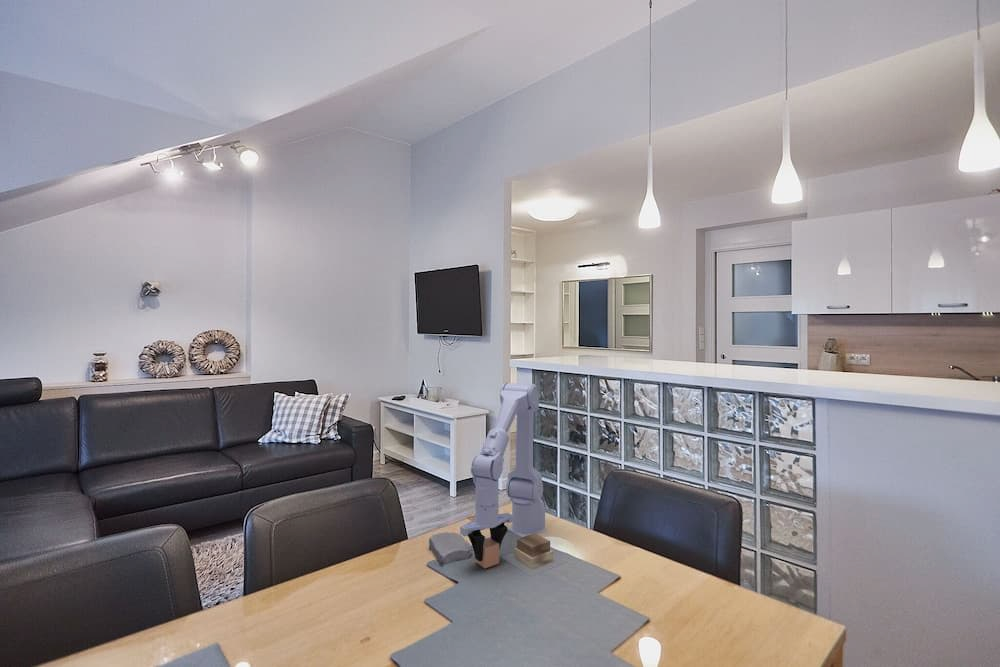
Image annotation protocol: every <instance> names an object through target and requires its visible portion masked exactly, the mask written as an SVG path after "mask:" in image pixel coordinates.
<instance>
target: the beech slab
mask: <svg viewBox="0 0 1000 667" xmlns="http://www.w3.org/2000/svg"><path fill="white" fill-rule="evenodd" d="M513 550H514V552H513V553H514V558H515V559H517V560H518V561H520V562H522V563H523V564H525V565H526V566H528V567H530V568H531V569H533V568H535V567H538V566H541V565H543V564H546V563H549V562H551V561H553V554H554V550H552V549H550V551H549V552H546V553H543V554H540V555H537V556H535V557H530V556H529V555H527V554H525V553H524V552H522V551H520V550H519V549H517V547H515V548H514V549H513Z"/></svg>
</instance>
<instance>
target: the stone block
mask: <svg viewBox="0 0 1000 667" xmlns="http://www.w3.org/2000/svg"><path fill="white" fill-rule="evenodd" d="M428 549H429V550H431V551H432V553H433V555H434V556H435V558H436V560H438V561H437V562H438V564H439V563H440V564H439V565H442V564H443V565H448V564H450V563H452V562H456V561H460V560H467V559H469V558H470V557H471V554H472V550H473V546H472V545H471V544H470V543H469V541H468V540H466V539H465V538H464V536H463V535H461V534H460V533H457V532H447V531H445V532H439V533H438V532H437V533H436V534H432V536H429V539H428Z"/></svg>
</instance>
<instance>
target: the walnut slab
mask: <svg viewBox="0 0 1000 667" xmlns="http://www.w3.org/2000/svg"><path fill="white" fill-rule="evenodd" d="M523 536H524V537H521V536H520V537H519V538H517V539H516V548H517V549H519V550H520V551H522V552H524V553H525V554H527V555H529V556H530V557H535V556H537V555H540V554H543V553H546V552H549V551H550V550H551V541H550V540H549V539H547V538H545V537H543V536H541V535H539V534H538V533H534V534H530V535H527V536H525V535H523Z"/></svg>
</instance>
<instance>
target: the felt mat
mask: <svg viewBox="0 0 1000 667" xmlns="http://www.w3.org/2000/svg"><path fill="white" fill-rule="evenodd" d="M500 558H501V559H503V560H504V561H506V562H508V563H509V564H511V565H512V566H514V567H515V568H517V569H519V570H520V571H522V572H523V573H524V574H526V575H528V576H529V577H532V576H535V575H537V574H540V573H542V572H546V571H548V570H551V569H553V568H555V567H556V568H557V567H558V566H560V565H563V564H565V563H567V561H566V560H564V559H562V558H561V557H559V556H557V555H555V554H554V553H553V561H551V562H549V563H546V564H543V565H541V566H538V567H535V568H533V569H531V568H530V567H528V566H526V565H525V564H523V563H522V562H520V561H518V560H517V559H515V558H514V552H511V553H508V554H505V555H502V556H500Z"/></svg>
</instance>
